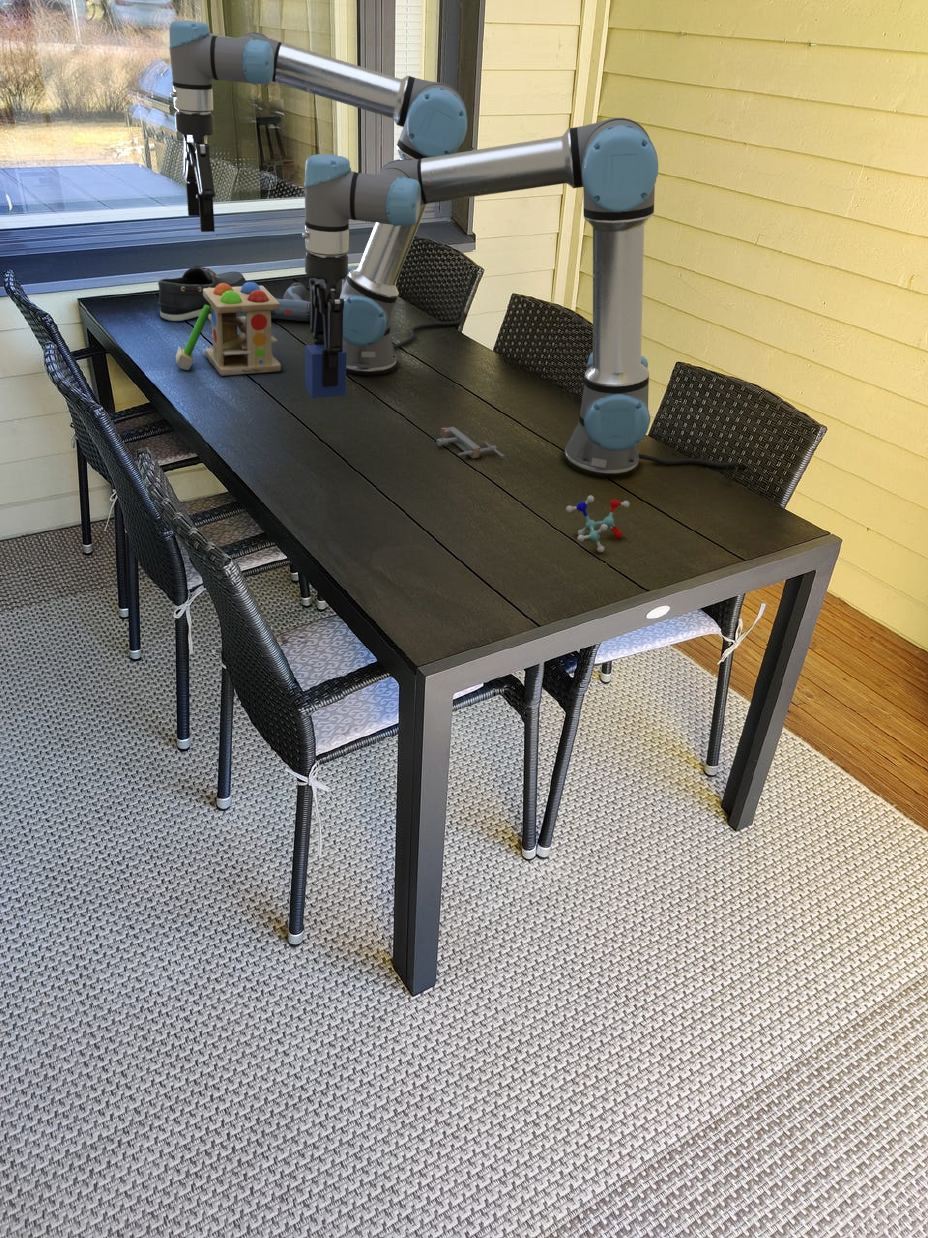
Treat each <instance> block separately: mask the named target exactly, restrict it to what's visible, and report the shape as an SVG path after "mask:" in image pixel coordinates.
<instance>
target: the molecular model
mask: <svg viewBox="0 0 928 1238" xmlns="http://www.w3.org/2000/svg"><path fill="white" fill-rule="evenodd" d="M594 501H595V497H594V496H593V495H588V496H587V498H586V500H585V501H579V502H578V503H577V505H575V506H572V505H567V506H566V508H565V510H566V512H567V513H572V512H573V511H578V512H581V513H582V515H583V517H584V519H585V520H586V522H585V525H584V526H585V527H584V528H583V529H582V528H581V529H579V530H578V531H577V535H578V536H577V539H576V540H577V541H578V542H580V543H582V542H584V541H585V540H589V539H590V541H593V542H595V544H596V547H597V548H596V549H597V552H598V553H599V554H600V553H604V551H605V547H604V546H603V545H602V544H601V542H600V540H599V539H600V534H601V533H602V532H605V531H607V530H608V528H609V529H610V530H611V532H612V533H613V537H614V538H615V539H617V540H618V539H621V538H622V537H623V532H622V531H621V530H620V529H619V528H618V527H617V526H616V525H615V519H614V518H613V515H614V513H615V510H616V509H617V508H619V507H623V508H624V509H625V508H627V509H628V508H629V507H630V501H628V500H624V501H623V502H621V501H619V500H617V499H615V498H614V499H612V500H611V501H610V502H609V506H610V510H609V514H608V516H605V517H604V519H603V520H598V521H595V520H594V519H591V518H590V516H589V514H588V512H587V511H586V510H587V509H588V506H587V505H588V504H589V503H593V502H594ZM596 526H600V527H599V529H597V530H595V528H596ZM588 530H589V531H590V532H589V534H587V535H585V533H586V532H587V531H588Z"/></svg>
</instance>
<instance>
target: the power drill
mask: <svg viewBox="0 0 928 1238" xmlns="http://www.w3.org/2000/svg"><path fill="white" fill-rule="evenodd" d="M307 295H308V290H307V287H306V285H304V284H303V283H301V282H293V283H292V284H291V285H290V286H289V287H288V288H287V289H286V291H285V292H284V294H283V297H282V298H275V299H276V300H277V301H278V302H279V303H280V310H271V319H274V320H275V319H276V320H283V321H294V322H295V321H297V322H310V301H307V300H305V299H306V297H307Z"/></svg>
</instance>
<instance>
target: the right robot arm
mask: <svg viewBox="0 0 928 1238" xmlns="http://www.w3.org/2000/svg"><path fill="white" fill-rule="evenodd" d="M304 171H305V173H304V183H303V188H304V229H305V232H303V233H301V236H302V239H304V246H305V250H306V252H305V254H304V273H305V274H306V276H308V277H310V278H309V281H308V283H309V294H310V295H309V296H310V298H309V302H310V321H309V322H310V323H309V325H310V327H309V332H310V333H311V334H312V338H313V340H314V341H313V345H322V344H324V346H325V350H321V353H322V354H323V386H324V387H327V386H338V353H341V352H343V309H344V303H345V301H344V299H343V298H340V295H341V289H340V287H339V283H338V282H339V281H340V280H341V279H343V278H345V277H346V276H347V275H348V266H349V256H348V254H347V253H348V252H349V250H350V224H349V223H350V220H352V221H359V222H360V221H361V222H367V223H373V224H375V223H382V224H390V225H394V226H399V225H400V226H413V225H415V224H416V222H417V220H418V216H419V211H420V205H424V204H427V205H430V204H434V203H440V202H441V203H442V202H448V201H455V200H461V199H462V200H463V199H468V198H475V197H481V196H483V197H484V196H489V195H497V194H502V193H508V192H516V191H523V190H529V189H536V188H543V187H550V186H558V185H565V184H567V185H568V186H569V187H571V188H572V189H579V188H580V189H581V188H582V189H583V194H582V195H583V196H582V197H583V199H582V200H583V201H582V202H583V218H584V220H585V221H586V222H587V223H589V225H590V226H591V228H592V352H591V353H590V354H589V356H588V360H587V363H586V364H585V365H586V366H585V367H586V370H585V372H584V385H583V392H582V398H581V405H580V410H579V417H578V421H577V424H576V427H575V429H574V430H573V433H572V434H571V436H570V438H569V440H568V441H567V443H566V446H565V448H564V454H563V460H564V462H565V463H566V464H567V465H568V466H569V467H570V468H571V469H573V470H574V471H577V472H579V473H581V474H585V475H588V476H592V477H596V478H605V479H607V478H608V479H616V478H617V479H619V478H624V477H629V476H630V475H632V474H634V473H635V472H636V471H637V469H638V468H639V467H638V466H639V461H640V460H644V461H649V462H654V463H657V464H660V465H669V466H670V465H682V464H683V465H684V464H697V465H702V466H708V467H714V468H725V469H726V468H732V467H737V466H738V465H736V464H737V462H736V461H737V460H734V461H729V462H719V461H711V460H705V459H699V458H698V459H697V458H678V459H665V458H659V457H656V456H652V455H649V454H648V455H647V454H643V453H639V448H638V444H639V443H641V441H643V439H644V438H645V436H646V435H647V433H648V431H649V427H650V423H651V414H650V410H649V389H650V388H649V387H650V386H649V384H650V372H649V371H650V370H649V369H648V368H649V361H648V359H647V358H646V357H645V356H643V355H642V331H643V296H644V294H643V291H644V254H645V253H644V251H645V225H646V224H647V222H649V220H650V219H651V218H652V217H653V216H654V214H655V194H656V193H655V192H656V191H655V190H656V189H655V188H656V184H657V178H658V175H659V157H658V153H657V150H656V148H655V146H654V143H653V142H652V140H651V138H650V136H649V134H648V132H647V131H646V129H645V128H644V127H643V125H641V124H640V123H638V122H637V121H635V120H633V119H631V118H626V117H613V118H608V119H604V120H600V121H598V122H594V123H590V124H585V125H581V126H577V127H570V128H567V129H566V130H565V132H564V134H562V135H561V136H560V135H559V136H554V137H548V138H542V139H541V138H540V139H537V140H529V141H523V142H516V143H509V144H504V145H498V146H491V147H485V148H479V149H473V150H465V151H460V152H456V153H453V154H447V155H441V156H434V157H428V158H422V159H417V160H410V161H407V160H403V159H400V158H398V159H393V160H391V161H388V162H387V163H386V164H384V165H383V166H382V167H381V169H380V170H379V171H378V173H377V174H376V173H375V174H373V173H362V172H356V171H352V167H351V161H350V160H349V159H348V157H346V156H342V155H337V154H331V153H319V154H318V153H317V154H313V155H310V156H309V157H308V158H307V159H306V161H305V169H304ZM739 466H741V467H743V468H744V469H745V470H751V467H750V466H749V467H750V468H749V467H747V466H745V465H739Z"/></svg>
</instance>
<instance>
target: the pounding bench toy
mask: <svg viewBox="0 0 928 1238" xmlns="http://www.w3.org/2000/svg"><path fill="white" fill-rule="evenodd" d="M203 296H204V297H205V299H206V300H207V301H208V302H209V304H210V305H211V307H210V306H208V305H204V307H203V309H202V311H201V314H200V316H198V318H197V320H196V322H195V324H194V327H193V329H192V331H191V332H190V333H191V334H190V336H189V338H188V340H187V343H186V344H185V347H184V348H182V347H180V346H179V347H178V349H177V351H176V354H175V357H174V358H175V362H176V365H177V366H178V368H179V369H182V370H185V371H189V370H190V369H191V367H192V365H193V363H194V356H193V351H194V348H195V347H196V345H197V342H198V340H199V337H200V336H201V333H202V332H203V329H204V326H205V325H206V322H207V320H209V321H210V322H211V336H212V337H211V338H212V339H211V340H212V348H205V349H204V352H205V353H204V355H205V357H206V359H208V361H209V363H210V364H211V365H212V366H213V367H214V369H215V370H216V371H217V372H218V374H219V375H220V376H222V377H223V376H234V375H235V376H236V375H246V374H247V375H250V374H262V373H275V372H281V370H282V364H281V363H280V362H279V360H278V359H277V358H276V357H275V356H274V355H273V348H272V347H273V345H272V344H276V343H278V342H279V341H278V339H277V338H276V337H275V336H274V334H272V318H271V310H280V303H279V302H278V301H277V300H276V299H277V298H276V297H274V296H273V295H272V294H271V293H270V292H269V290H268V289H267V288H266V287H264V285H259V284H257V283H256V282H255V281H246V283H245V284H244V285H243V286H242V287H231V286H230V285H228V284H226V283H221V284H218V285H217V286H216V287H215V288H204V289H203ZM210 310H211V311H210ZM238 313H244V314H245V315H244V316H238ZM238 329H239V331H240V333H239V334H238Z"/></svg>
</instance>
